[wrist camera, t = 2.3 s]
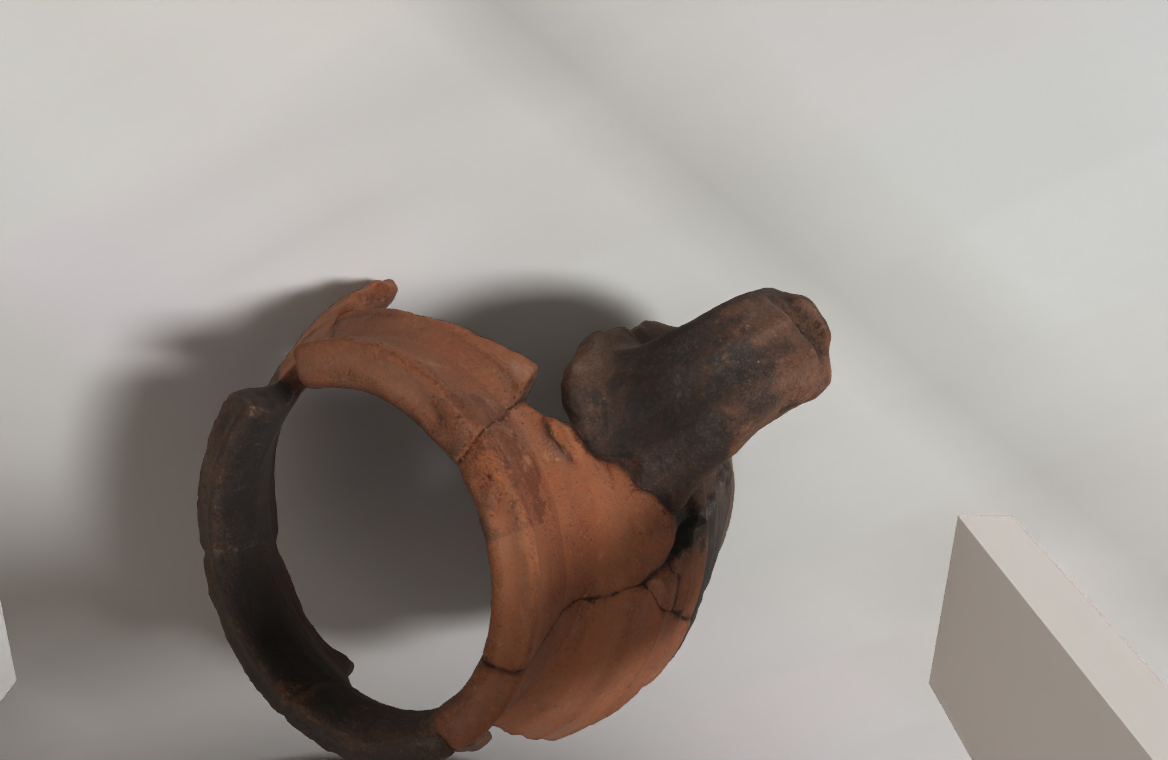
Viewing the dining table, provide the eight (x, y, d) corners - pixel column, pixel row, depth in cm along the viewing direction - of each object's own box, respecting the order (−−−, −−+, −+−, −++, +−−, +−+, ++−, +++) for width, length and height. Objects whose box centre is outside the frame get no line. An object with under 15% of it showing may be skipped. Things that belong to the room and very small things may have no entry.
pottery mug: (566, 706, 25) (338, 909, 18) (366, 393, 26) (80, 463, 19) (992, 447, 19) (906, 592, 12) (705, 68, 21) (479, -2, 14)
